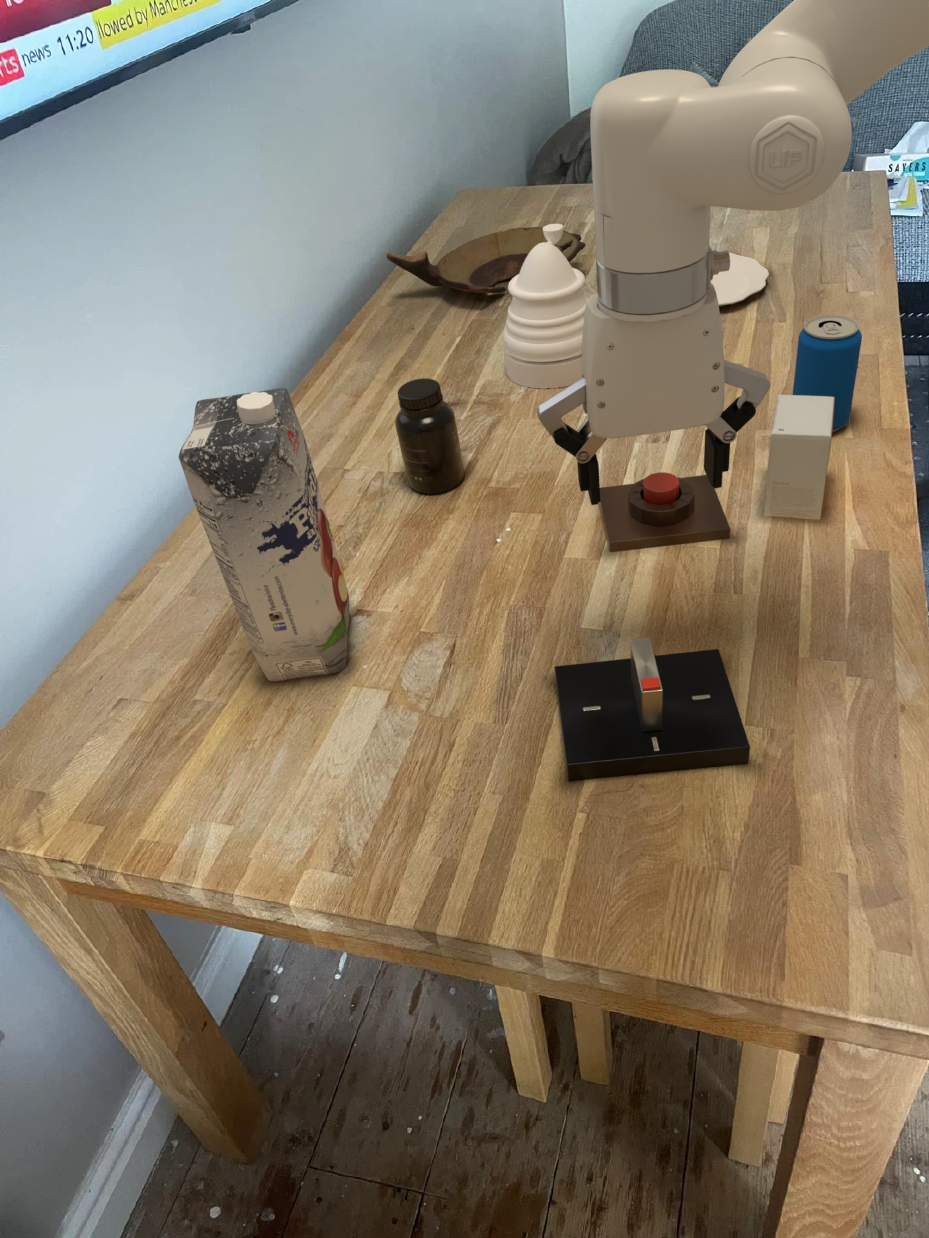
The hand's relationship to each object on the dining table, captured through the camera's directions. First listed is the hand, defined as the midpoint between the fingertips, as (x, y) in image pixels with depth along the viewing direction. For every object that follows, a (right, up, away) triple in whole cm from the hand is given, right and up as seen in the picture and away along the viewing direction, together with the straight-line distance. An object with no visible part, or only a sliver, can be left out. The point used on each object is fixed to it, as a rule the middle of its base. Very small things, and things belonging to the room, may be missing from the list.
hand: (652, 487), depth 76 cm
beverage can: (+26, +12, +33) cm, 44 cm away
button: (+5, +2, +21) cm, 21 cm away
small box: (+19, +1, +23) cm, 30 cm away
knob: (0, -17, 0) cm, 17 cm away
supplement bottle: (-19, +6, +35) cm, 40 cm away
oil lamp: (-10, +44, +78) cm, 90 cm away
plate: (+19, +39, +66) cm, 79 cm away
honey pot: (-3, +24, +53) cm, 58 cm away
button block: (+5, -1, +23) cm, 24 cm away
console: (0, -20, +2) cm, 20 cm away
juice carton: (-30, -14, +15) cm, 36 cm away
